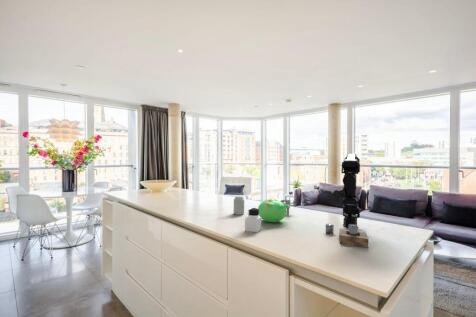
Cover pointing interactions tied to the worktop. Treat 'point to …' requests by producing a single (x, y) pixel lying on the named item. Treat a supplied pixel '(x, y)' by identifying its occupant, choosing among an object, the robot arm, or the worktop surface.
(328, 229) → the short pin
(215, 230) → the worktop surface
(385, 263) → the worktop surface
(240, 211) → the can
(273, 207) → the green rounded lump
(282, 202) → the mechanical component
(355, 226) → the tall pin
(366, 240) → the hole block
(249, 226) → the medicine bottle
